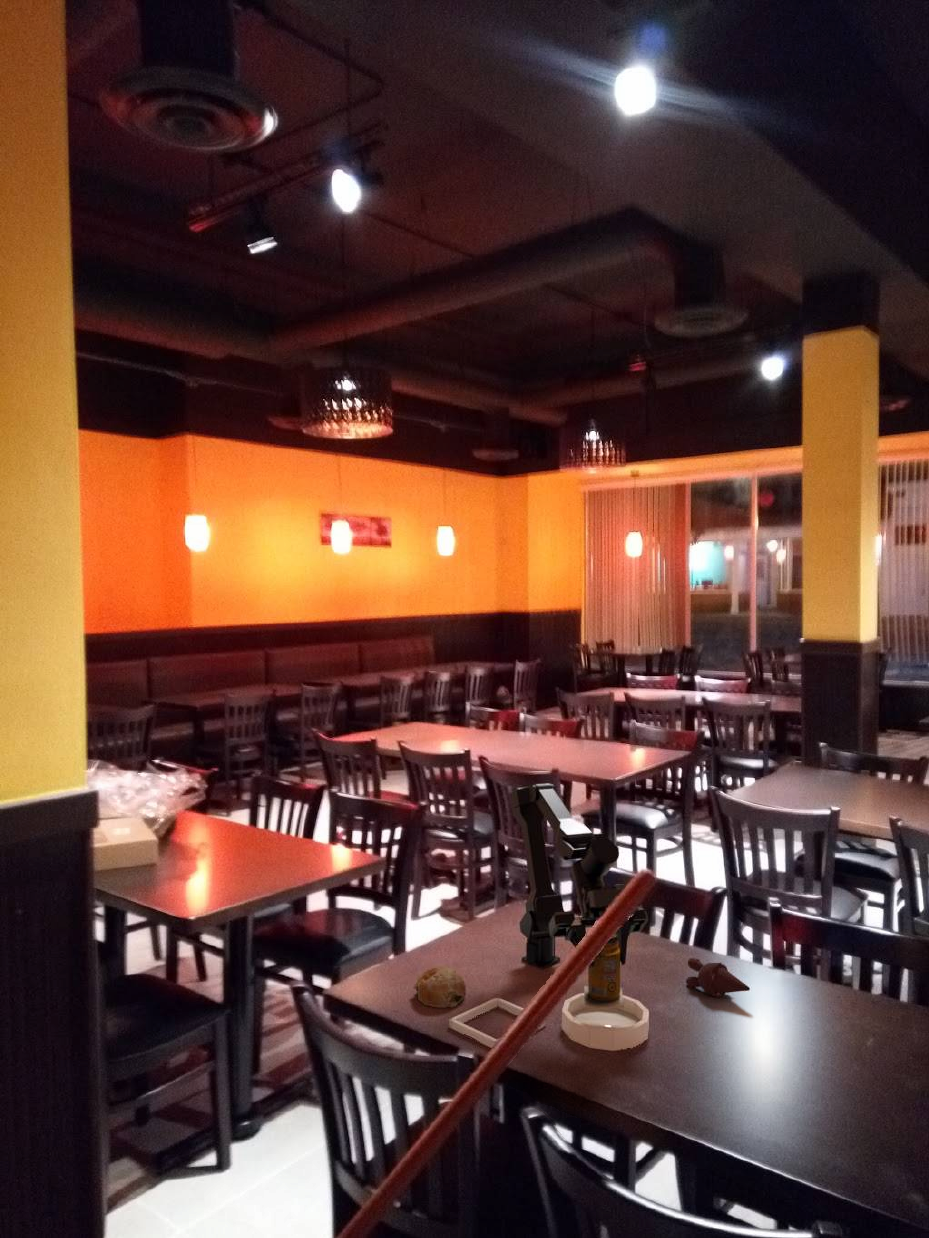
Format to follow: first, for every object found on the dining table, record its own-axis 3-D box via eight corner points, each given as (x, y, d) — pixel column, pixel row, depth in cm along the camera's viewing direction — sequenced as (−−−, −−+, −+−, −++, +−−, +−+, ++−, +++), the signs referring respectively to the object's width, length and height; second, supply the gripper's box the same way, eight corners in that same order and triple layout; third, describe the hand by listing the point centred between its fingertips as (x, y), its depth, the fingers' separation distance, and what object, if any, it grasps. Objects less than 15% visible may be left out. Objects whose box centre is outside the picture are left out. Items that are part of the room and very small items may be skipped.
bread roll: (436, 1029, 177) (450, 998, 174) (401, 994, 182) (414, 963, 180) (466, 1011, 184) (480, 981, 182) (431, 978, 190) (444, 948, 188)
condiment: (621, 988, 173) (621, 927, 173) (624, 1008, 165) (624, 944, 165) (583, 986, 174) (583, 926, 174) (584, 1006, 166) (584, 943, 166)
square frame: (497, 1004, 180) (497, 996, 179) (545, 1025, 171) (545, 1017, 171) (448, 1027, 170) (448, 1019, 170) (497, 1051, 161) (497, 1042, 161)
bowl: (595, 1001, 181) (596, 984, 181) (664, 1028, 170) (664, 1010, 170) (545, 1028, 170) (546, 1010, 170) (616, 1059, 158) (616, 1039, 158)
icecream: (761, 970, 182) (699, 954, 193) (740, 970, 177) (678, 953, 189) (758, 1006, 180) (696, 988, 192) (737, 1007, 176) (675, 988, 187)
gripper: (553, 871, 171) (569, 951, 161) (645, 866, 175) (667, 944, 164) (542, 897, 179) (556, 975, 169) (630, 893, 183) (650, 968, 172)
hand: (608, 965), depth 168 cm, fingers closed on condiment, 6 cm apart
